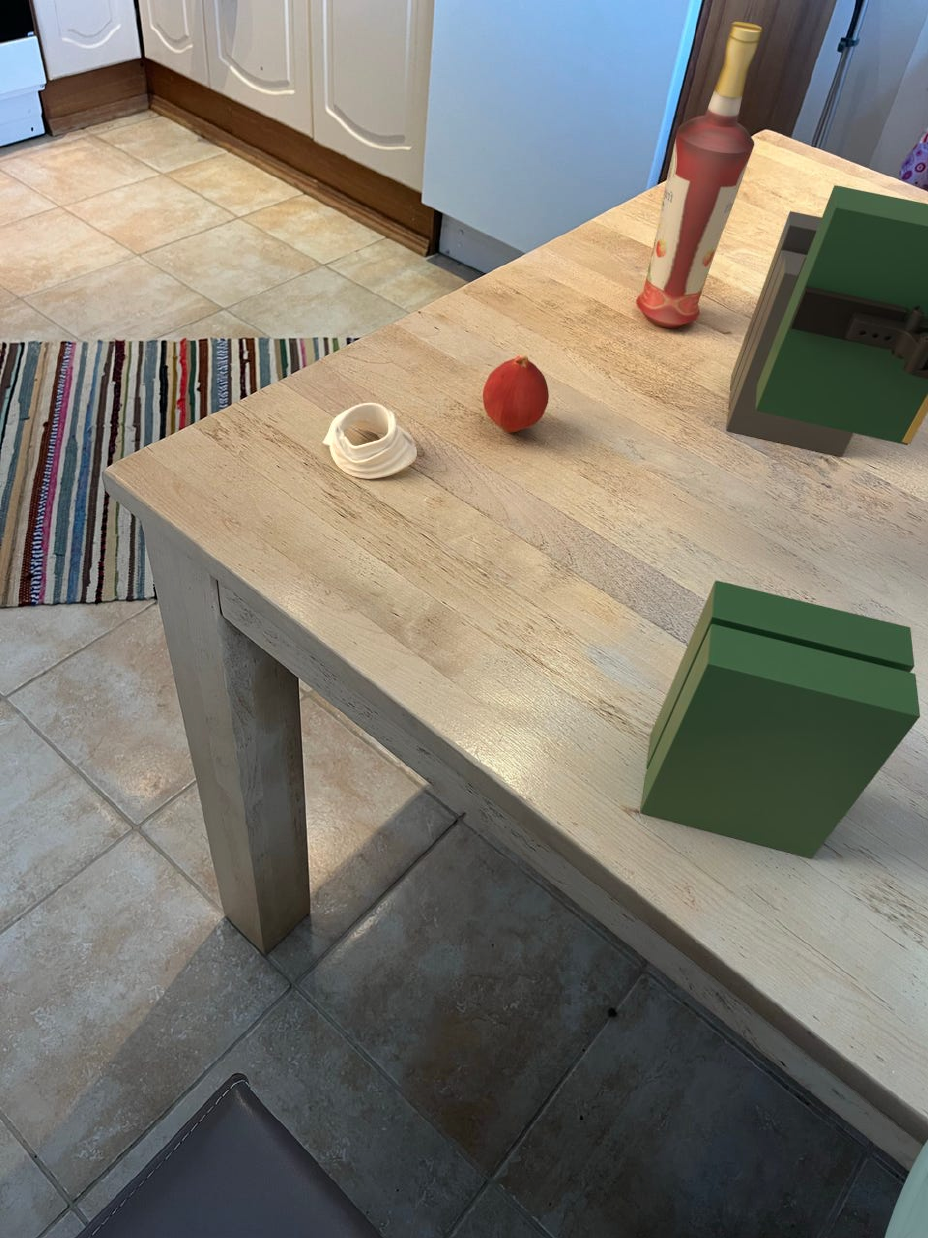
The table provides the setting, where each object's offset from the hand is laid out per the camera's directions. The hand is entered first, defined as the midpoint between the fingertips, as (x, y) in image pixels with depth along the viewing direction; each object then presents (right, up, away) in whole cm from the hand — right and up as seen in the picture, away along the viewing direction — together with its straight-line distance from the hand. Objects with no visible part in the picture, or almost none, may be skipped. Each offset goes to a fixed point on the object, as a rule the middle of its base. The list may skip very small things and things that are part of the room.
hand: (798, 292), depth 64 cm
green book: (+4, -7, +6) cm, 10 cm away
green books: (-5, -33, -2) cm, 34 cm away
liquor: (-1, +11, +39) cm, 41 cm away
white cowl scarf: (-31, -8, +18) cm, 37 cm away
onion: (-18, -5, +23) cm, 30 cm away
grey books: (+9, -2, +29) cm, 30 cm away
